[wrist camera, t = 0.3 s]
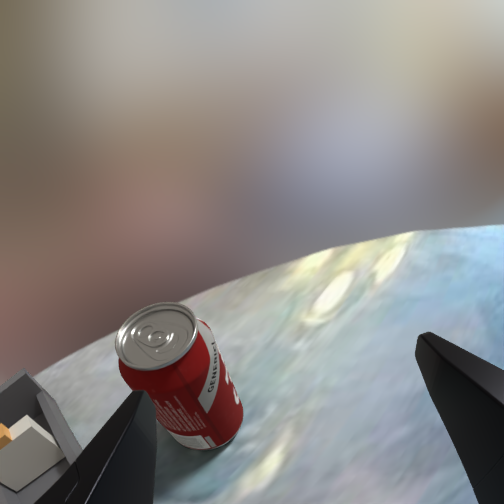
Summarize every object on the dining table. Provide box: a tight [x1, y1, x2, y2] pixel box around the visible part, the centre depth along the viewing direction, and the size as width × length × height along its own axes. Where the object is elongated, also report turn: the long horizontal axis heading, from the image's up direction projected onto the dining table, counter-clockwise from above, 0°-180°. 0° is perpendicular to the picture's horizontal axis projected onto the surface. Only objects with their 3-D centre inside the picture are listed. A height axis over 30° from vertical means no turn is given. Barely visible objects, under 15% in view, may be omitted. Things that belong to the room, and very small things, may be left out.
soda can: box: [115, 302, 243, 450], centre depth 22 cm, size 7×7×12 cm
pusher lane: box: [0, 368, 83, 504], centre depth 18 cm, size 19×11×6 cm, turn 47°
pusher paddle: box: [0, 415, 65, 491], centre depth 18 cm, size 2×8×7 cm, turn 137°
